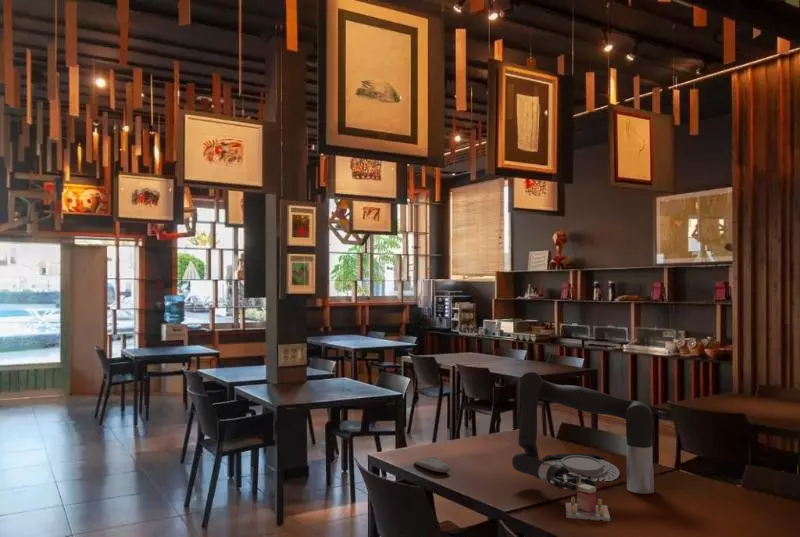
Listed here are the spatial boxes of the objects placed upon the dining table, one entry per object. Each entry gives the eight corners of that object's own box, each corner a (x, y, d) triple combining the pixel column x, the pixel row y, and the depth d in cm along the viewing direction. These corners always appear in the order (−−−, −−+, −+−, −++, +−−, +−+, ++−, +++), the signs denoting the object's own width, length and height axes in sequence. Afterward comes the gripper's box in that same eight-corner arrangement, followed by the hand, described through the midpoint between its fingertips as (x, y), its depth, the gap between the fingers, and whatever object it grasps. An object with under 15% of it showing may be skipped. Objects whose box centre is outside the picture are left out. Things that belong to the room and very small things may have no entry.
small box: (576, 508, 223) (576, 485, 223) (584, 506, 226) (584, 483, 226) (589, 512, 219) (589, 489, 219) (596, 510, 222) (596, 486, 222)
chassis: (607, 509, 226) (606, 498, 227) (610, 521, 215) (610, 510, 215) (565, 506, 230) (565, 495, 230) (566, 517, 218) (566, 506, 218)
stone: (430, 462, 289) (409, 464, 285) (430, 454, 289) (409, 456, 285) (453, 474, 266) (431, 477, 263) (453, 465, 267) (431, 468, 263)
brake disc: (539, 460, 290) (539, 449, 290) (607, 461, 288) (607, 451, 288) (552, 483, 258) (552, 471, 258) (629, 484, 256) (629, 472, 256)
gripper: (538, 466, 235) (569, 478, 220) (568, 461, 241) (600, 472, 227) (538, 487, 234) (569, 500, 220) (568, 481, 241) (600, 494, 226)
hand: (585, 486), depth 223 cm, fingers open, 8 cm apart
